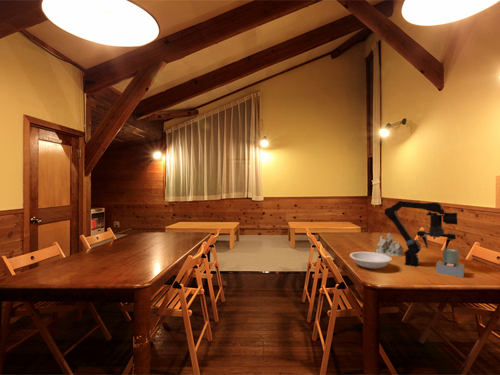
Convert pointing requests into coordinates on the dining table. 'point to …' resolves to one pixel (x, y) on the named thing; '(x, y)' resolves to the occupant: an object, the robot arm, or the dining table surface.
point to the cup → (451, 256)
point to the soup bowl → (371, 259)
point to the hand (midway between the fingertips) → (436, 248)
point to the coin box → (450, 269)
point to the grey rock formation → (389, 246)
